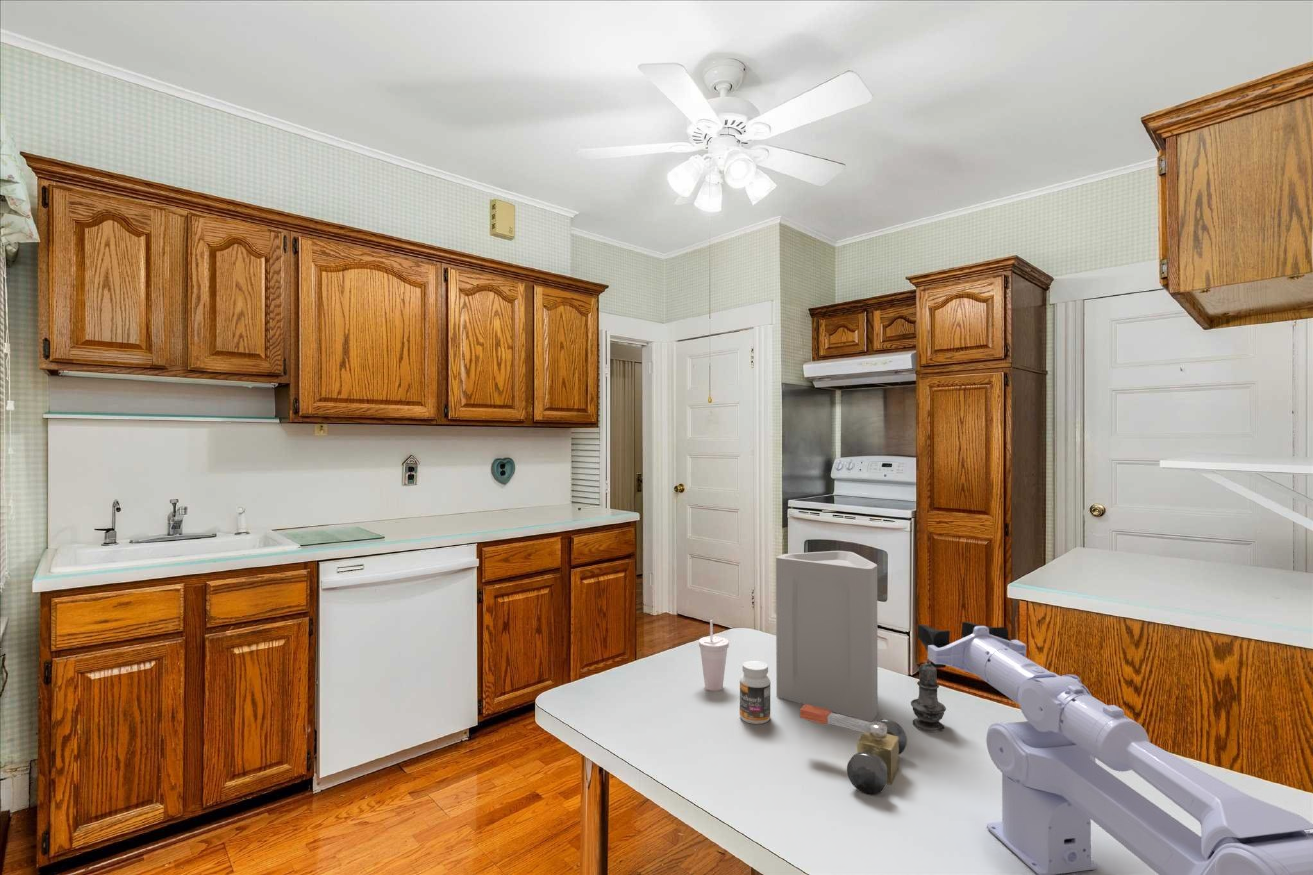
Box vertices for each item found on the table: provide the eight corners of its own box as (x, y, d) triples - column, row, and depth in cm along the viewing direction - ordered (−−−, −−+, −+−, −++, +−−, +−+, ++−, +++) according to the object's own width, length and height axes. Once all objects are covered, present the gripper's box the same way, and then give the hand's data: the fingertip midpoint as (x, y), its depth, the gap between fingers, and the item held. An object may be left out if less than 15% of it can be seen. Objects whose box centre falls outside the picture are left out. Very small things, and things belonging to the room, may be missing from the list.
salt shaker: (950, 734, 108) (949, 666, 108) (914, 731, 109) (914, 663, 109) (941, 719, 114) (941, 654, 114) (907, 716, 115) (907, 652, 115)
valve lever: (888, 733, 96) (888, 724, 96) (884, 740, 94) (884, 730, 94) (805, 712, 104) (805, 703, 104) (799, 717, 101) (799, 709, 101)
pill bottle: (735, 721, 113) (735, 667, 113) (745, 708, 118) (745, 657, 118) (765, 727, 111) (764, 672, 111) (774, 715, 116) (774, 662, 116)
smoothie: (693, 684, 130) (692, 618, 130) (719, 678, 133) (719, 614, 133) (708, 695, 124) (707, 626, 124) (735, 690, 127) (734, 622, 127)
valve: (885, 800, 88) (885, 761, 88) (846, 788, 92) (846, 750, 92) (906, 757, 100) (906, 723, 100) (871, 748, 103) (871, 714, 103)
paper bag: (893, 693, 125) (892, 556, 125) (871, 721, 113) (870, 569, 113) (803, 673, 136) (803, 546, 136) (774, 696, 124) (774, 557, 124)
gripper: (1051, 637, 85) (984, 602, 98) (956, 643, 83) (901, 607, 96) (1048, 686, 86) (982, 645, 99) (954, 693, 83) (899, 650, 97)
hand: (941, 629), depth 98 cm, fingers open, 7 cm apart
